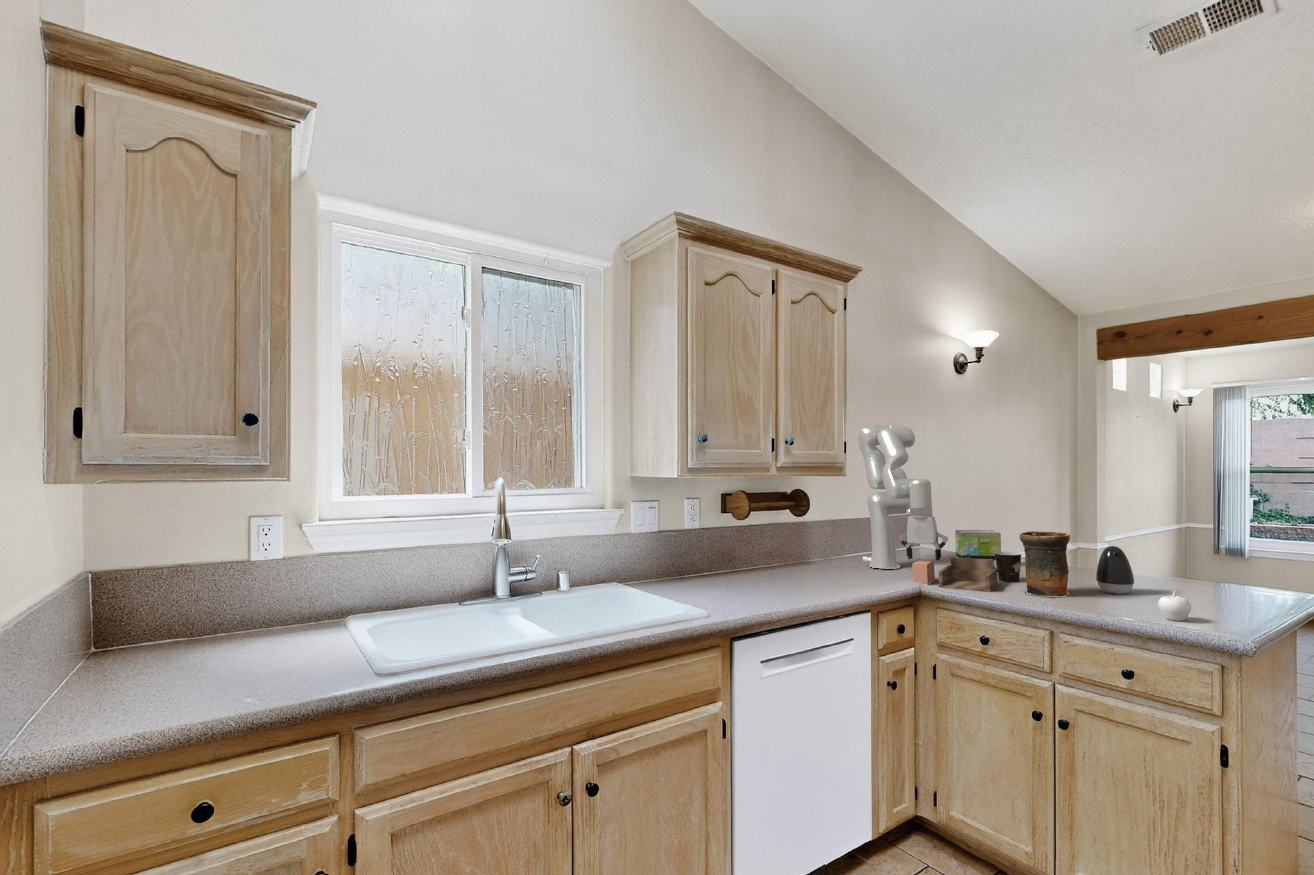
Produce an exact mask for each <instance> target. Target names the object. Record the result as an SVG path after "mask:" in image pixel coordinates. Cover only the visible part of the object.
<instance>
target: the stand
mask: <svg viewBox="0 0 1314 875" xmlns="http://www.w3.org/2000/svg"><path fill="white" fill-rule="evenodd" d="M998 581H999V580H998V572H997V568H996V569H994V563H993V560H985V559H970V558H956V557H950V565H949V564H948V565H946V566H945V567H944V568H941V569H940V570H938V587H939V588H940V587H944V588H943V589H951V588H953V590H962V589H963V591H964V590H965V591H975V592H985V593H986V592H987V593H991V592H992V591H993V590H994V589H995V587H996V586H998Z"/></svg>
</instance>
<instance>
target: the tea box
mask: <svg viewBox="0 0 1314 875" xmlns="http://www.w3.org/2000/svg"><path fill="white" fill-rule="evenodd" d="M954 536H955V558H970V559H985V560H992V559H993V558H995V552H1002V540H1001V539H1002V537H1001V536H1002V535H1001V533H1000V532H999V531H995V530H992V529H991V530H989V529H987V530H985V529H955V534H954ZM993 563H994V567H995V568H996V569H997V564H996V560H994V561H993Z"/></svg>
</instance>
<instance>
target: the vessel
mask: <svg viewBox="0 0 1314 875" xmlns="http://www.w3.org/2000/svg"><path fill="white" fill-rule="evenodd" d="M1019 540H1020V542H1021V543H1022V546H1023V547H1024V548H1023V550H1024V556H1025V558H1024V562H1025V580H1026V581H1025V582H1026V591H1027V592H1028V593H1031V594H1032V595H1039V596H1038V597H1041V598H1042V597H1043V598H1060V597H1061V598H1063V597H1065V598H1066V597H1067V596H1065V595H1069V596H1071V594H1070V592H1069V591H1068V582H1069V573H1070V572H1069V564H1068V557H1067V549H1068V544H1069V543H1070V540H1071V536H1070V533H1068V532H1062V531H1046V530H1045V531H1044V530H1031V531H1030V530H1029V531H1026V532H1020V533H1019ZM1032 595H1031V596H1032Z"/></svg>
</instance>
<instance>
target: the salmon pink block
mask: <svg viewBox="0 0 1314 875" xmlns="http://www.w3.org/2000/svg"><path fill="white" fill-rule="evenodd" d="M911 565H912V583H913V582H919V583H922V584H929V583H930V582H932V581H933V582H935V581H936V580H935V579H936V578H935V576H936V575H935V574H936V573H935V560H931V559H918V560H916V561H914V562H912V564H911ZM934 580H935V581H934ZM933 582H932V583H933ZM930 584H931V583H930ZM930 584H929V585H930Z"/></svg>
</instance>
